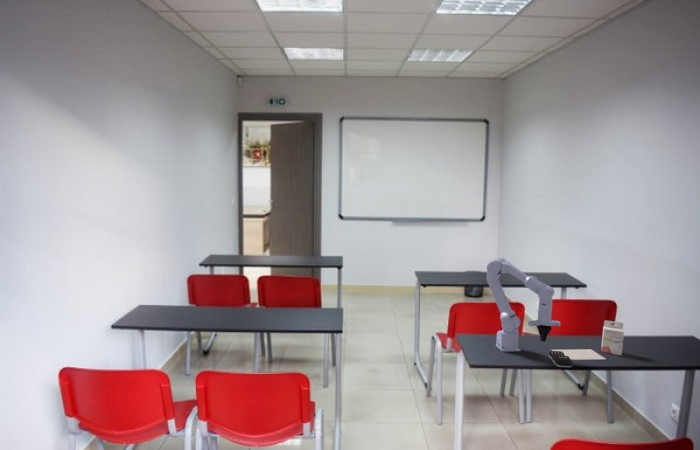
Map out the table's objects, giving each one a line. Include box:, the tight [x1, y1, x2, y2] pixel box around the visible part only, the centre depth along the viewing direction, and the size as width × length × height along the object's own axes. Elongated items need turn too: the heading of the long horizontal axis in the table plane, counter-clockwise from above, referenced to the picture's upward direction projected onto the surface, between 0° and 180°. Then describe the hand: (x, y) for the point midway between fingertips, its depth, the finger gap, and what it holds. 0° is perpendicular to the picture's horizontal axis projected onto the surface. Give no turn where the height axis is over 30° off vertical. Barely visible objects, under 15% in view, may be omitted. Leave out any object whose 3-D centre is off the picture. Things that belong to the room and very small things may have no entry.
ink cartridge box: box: [600, 319, 625, 356], centre depth 230 cm, size 9×5×15 cm, turn 65°
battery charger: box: [548, 350, 573, 369], centre depth 216 cm, size 7×4×11 cm
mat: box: [550, 348, 607, 361], centre depth 226 cm, size 20×12×1 cm, turn 95°
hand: (542, 340), depth 223 cm, fingers closed
